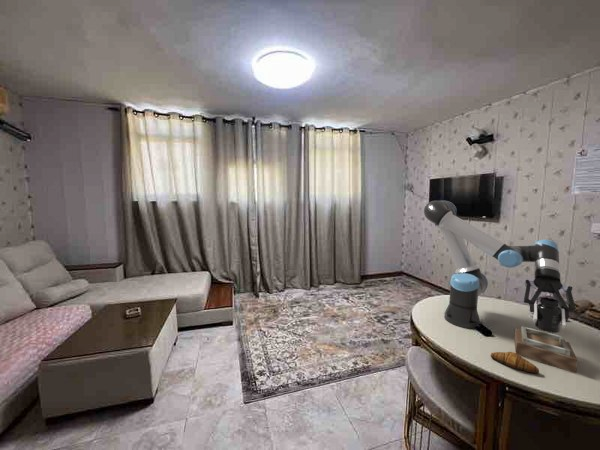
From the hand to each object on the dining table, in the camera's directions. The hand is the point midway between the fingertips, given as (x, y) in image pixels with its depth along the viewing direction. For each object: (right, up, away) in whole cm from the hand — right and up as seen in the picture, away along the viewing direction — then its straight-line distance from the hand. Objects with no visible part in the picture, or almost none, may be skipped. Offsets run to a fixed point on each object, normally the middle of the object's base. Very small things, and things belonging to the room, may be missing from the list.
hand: (548, 323), depth 91 cm
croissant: (-15, -15, -2) cm, 22 cm away
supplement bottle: (+2, -4, +3) cm, 5 cm away
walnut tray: (+2, -14, +5) cm, 15 cm away
